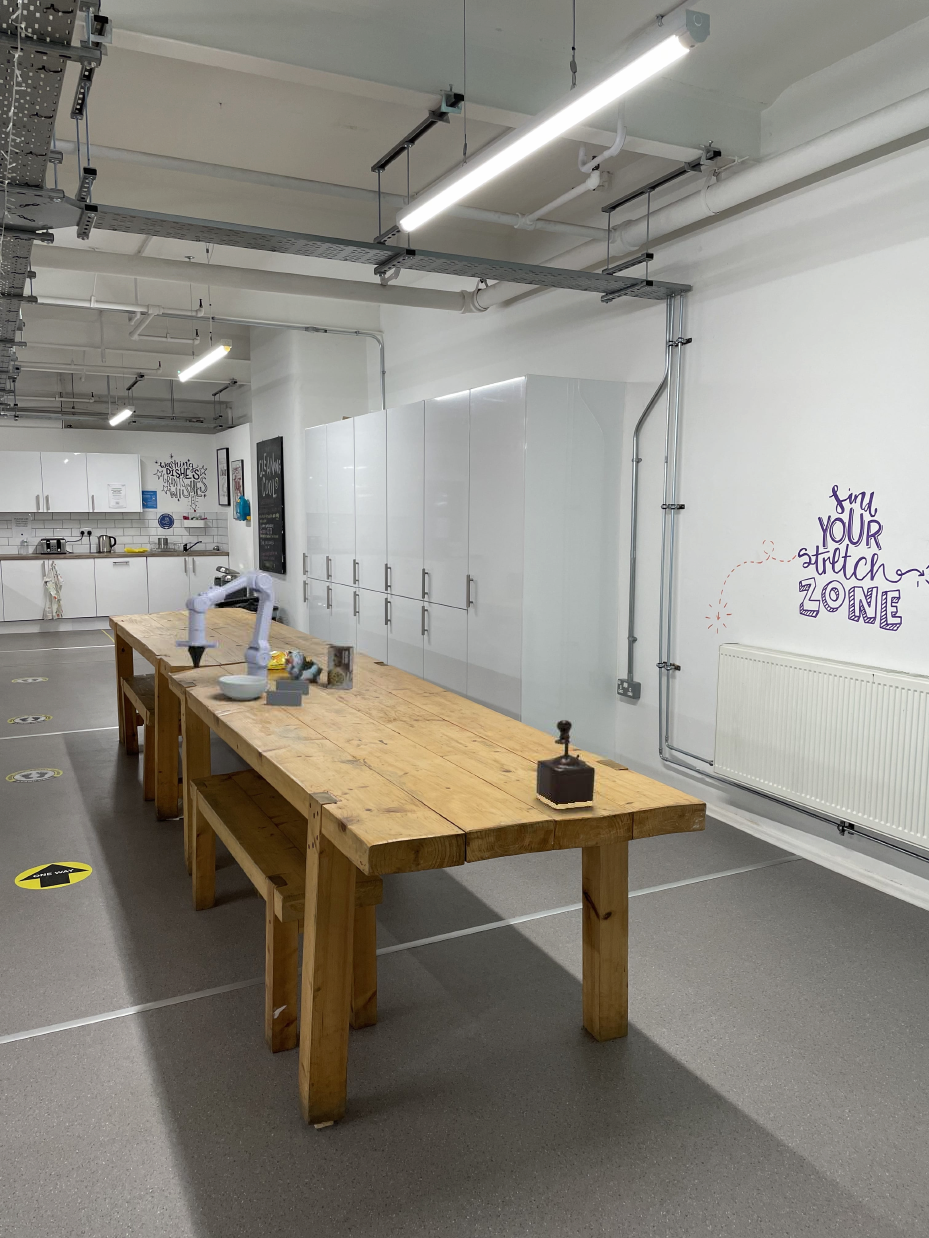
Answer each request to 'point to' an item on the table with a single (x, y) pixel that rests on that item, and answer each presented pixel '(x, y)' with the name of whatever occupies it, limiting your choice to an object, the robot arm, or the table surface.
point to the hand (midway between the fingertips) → (196, 667)
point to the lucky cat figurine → (302, 668)
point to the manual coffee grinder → (565, 774)
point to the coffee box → (340, 667)
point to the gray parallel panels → (287, 693)
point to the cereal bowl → (242, 686)
